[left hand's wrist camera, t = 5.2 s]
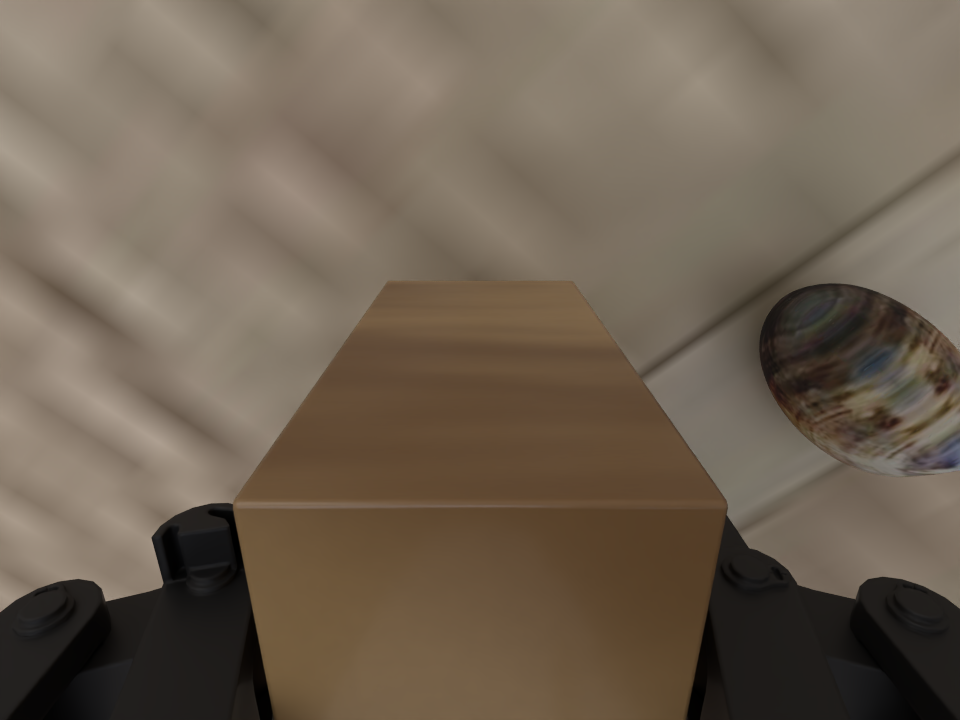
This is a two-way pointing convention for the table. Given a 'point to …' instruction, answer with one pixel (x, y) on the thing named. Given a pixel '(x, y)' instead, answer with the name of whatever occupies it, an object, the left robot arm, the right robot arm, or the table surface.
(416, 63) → the table surface
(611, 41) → the table surface
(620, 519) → the bar
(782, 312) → the seashell
